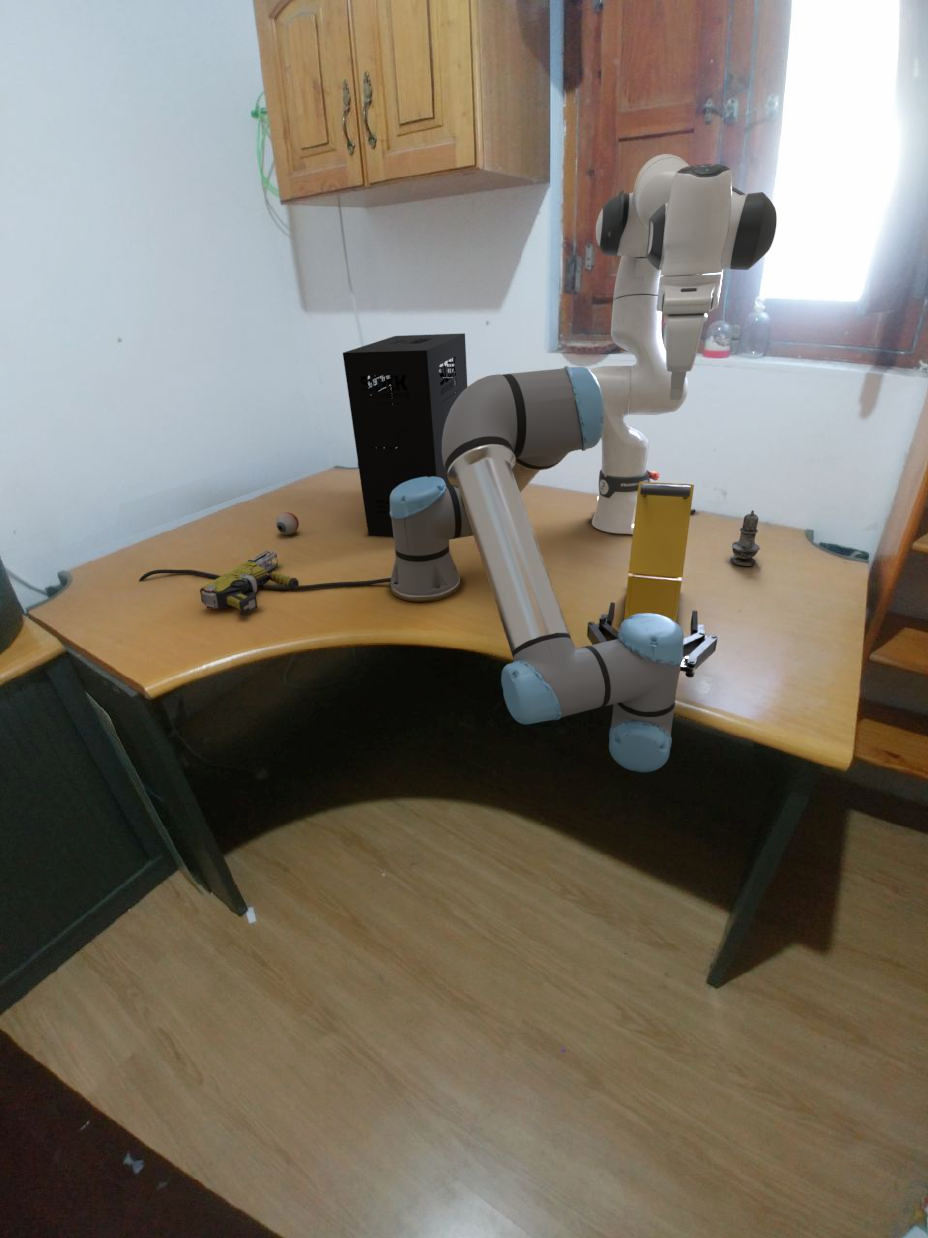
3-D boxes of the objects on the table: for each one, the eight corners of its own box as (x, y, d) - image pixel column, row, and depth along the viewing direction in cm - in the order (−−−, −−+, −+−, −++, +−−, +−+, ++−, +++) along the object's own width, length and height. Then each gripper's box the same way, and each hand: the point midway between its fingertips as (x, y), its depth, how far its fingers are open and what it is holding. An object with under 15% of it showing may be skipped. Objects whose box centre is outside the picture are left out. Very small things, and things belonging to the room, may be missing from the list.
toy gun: (318, 559, 142) (264, 548, 146) (255, 602, 122) (194, 588, 125) (320, 577, 144) (266, 565, 148) (258, 622, 124) (198, 608, 128)
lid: (639, 482, 108) (637, 474, 100) (693, 485, 105) (696, 476, 97) (628, 573, 110) (626, 572, 101) (682, 577, 107) (684, 577, 98)
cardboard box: (441, 538, 157) (426, 350, 134) (368, 534, 161) (342, 352, 139) (472, 491, 188) (464, 333, 166) (410, 490, 193) (395, 335, 170)
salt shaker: (759, 566, 133) (770, 515, 127) (731, 565, 134) (740, 514, 128) (754, 555, 138) (764, 505, 132) (726, 555, 139) (735, 505, 133)
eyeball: (273, 537, 164) (268, 516, 161) (287, 528, 169) (282, 508, 166) (291, 539, 161) (286, 518, 158) (305, 530, 166) (301, 510, 163)
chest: (630, 590, 127) (635, 543, 122) (676, 594, 124) (683, 546, 119) (623, 626, 115) (628, 576, 109) (674, 632, 112) (681, 580, 107)
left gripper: (558, 692, 93) (579, 623, 110) (733, 717, 86) (726, 640, 103) (560, 651, 89) (581, 587, 106) (743, 674, 82) (733, 601, 99)
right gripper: (668, 294, 100) (659, 382, 107) (663, 301, 83) (652, 405, 90) (709, 292, 98) (696, 382, 105) (712, 299, 82) (697, 406, 88)
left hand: (652, 613), depth 105 cm, fingers open, 13 cm apart
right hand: (676, 393), depth 98 cm, fingers open, 8 cm apart
